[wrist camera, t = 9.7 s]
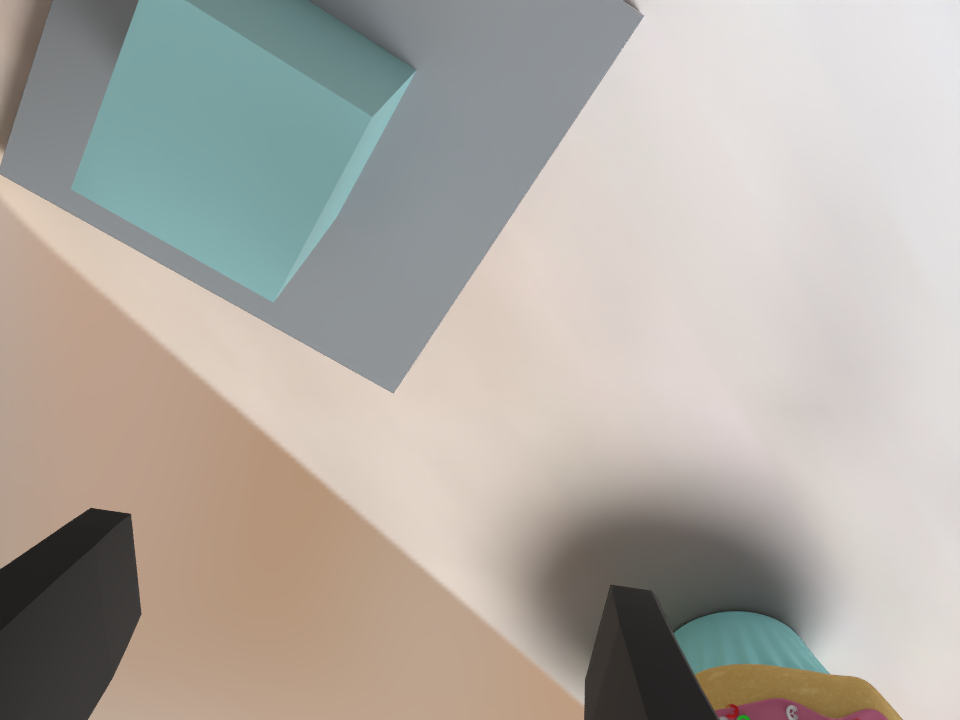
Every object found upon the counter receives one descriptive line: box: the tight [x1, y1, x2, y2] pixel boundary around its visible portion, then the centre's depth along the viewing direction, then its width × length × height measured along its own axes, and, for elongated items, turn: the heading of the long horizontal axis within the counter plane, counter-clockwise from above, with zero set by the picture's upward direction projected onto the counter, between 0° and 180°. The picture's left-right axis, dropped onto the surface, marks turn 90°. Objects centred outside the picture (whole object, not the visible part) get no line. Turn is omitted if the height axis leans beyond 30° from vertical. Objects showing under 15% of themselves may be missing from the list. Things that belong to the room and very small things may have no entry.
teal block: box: [71, 0, 416, 303], centre depth 16 cm, size 4×4×5 cm
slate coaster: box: [0, 0, 644, 393], centre depth 19 cm, size 11×11×1 cm
